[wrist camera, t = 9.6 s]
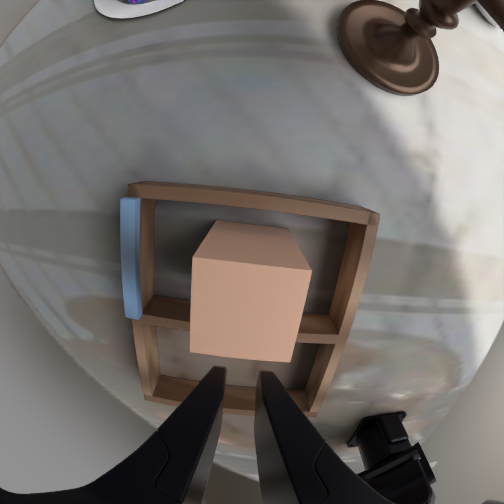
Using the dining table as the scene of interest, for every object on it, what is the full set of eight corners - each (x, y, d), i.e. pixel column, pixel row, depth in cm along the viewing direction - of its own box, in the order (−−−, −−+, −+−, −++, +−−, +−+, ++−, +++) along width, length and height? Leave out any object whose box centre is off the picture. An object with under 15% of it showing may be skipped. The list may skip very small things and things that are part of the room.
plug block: (277, 293, 20) (289, 362, 13) (210, 285, 20) (190, 352, 13) (288, 228, 19) (312, 270, 11) (216, 220, 19) (192, 256, 11)
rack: (310, 394, 24) (317, 423, 20) (152, 378, 23) (141, 405, 20) (362, 207, 18) (386, 216, 15) (144, 181, 18) (121, 185, 14)
